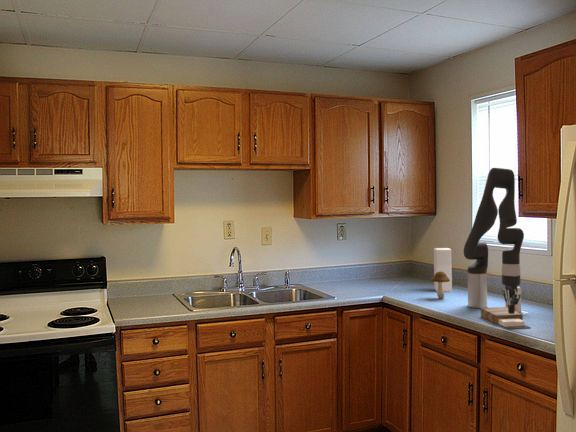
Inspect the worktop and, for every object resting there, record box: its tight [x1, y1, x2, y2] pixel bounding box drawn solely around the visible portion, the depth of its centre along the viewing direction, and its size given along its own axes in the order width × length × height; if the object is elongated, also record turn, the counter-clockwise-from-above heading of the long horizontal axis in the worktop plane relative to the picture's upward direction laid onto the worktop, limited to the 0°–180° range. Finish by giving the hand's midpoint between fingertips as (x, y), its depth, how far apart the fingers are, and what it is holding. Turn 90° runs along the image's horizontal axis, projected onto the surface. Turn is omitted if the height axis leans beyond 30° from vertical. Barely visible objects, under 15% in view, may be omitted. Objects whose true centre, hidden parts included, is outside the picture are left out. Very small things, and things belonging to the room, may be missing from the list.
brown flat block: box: [480, 306, 524, 325], centre depth 250 cm, size 16×12×4 cm
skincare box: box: [505, 286, 522, 313], centre depth 267 cm, size 6×4×12 cm
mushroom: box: [429, 272, 450, 300], centre depth 303 cm, size 9×11×15 cm
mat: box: [498, 324, 531, 330], centre depth 238 cm, size 8×10×1 cm
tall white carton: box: [433, 247, 453, 293], centre depth 328 cm, size 9×9×25 cm
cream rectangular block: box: [497, 318, 526, 328], centre depth 239 cm, size 6×9×2 cm, turn 92°
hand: (511, 313), depth 240 cm, fingers closed
